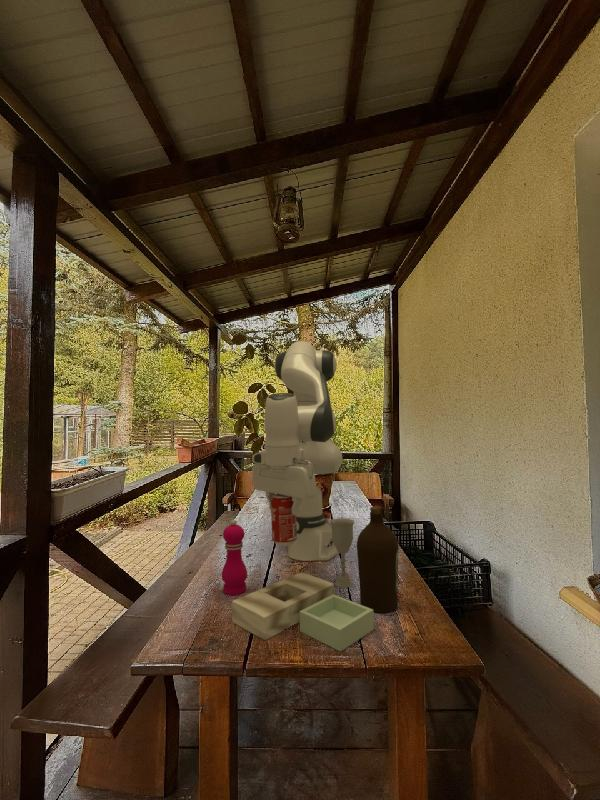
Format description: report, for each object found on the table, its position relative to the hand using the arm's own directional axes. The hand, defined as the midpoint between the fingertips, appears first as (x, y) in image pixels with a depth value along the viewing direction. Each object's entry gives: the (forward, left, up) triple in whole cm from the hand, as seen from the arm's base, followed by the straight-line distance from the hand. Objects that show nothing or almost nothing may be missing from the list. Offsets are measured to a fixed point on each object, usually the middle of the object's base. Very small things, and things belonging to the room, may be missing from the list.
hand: (283, 511), depth 106 cm
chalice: (-23, 0, -25) cm, 34 cm away
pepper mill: (+1, -20, -25) cm, 32 cm away
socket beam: (0, 0, -25) cm, 25 cm away
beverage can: (0, 0, -8) cm, 8 cm away
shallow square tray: (-2, +15, -25) cm, 29 cm away
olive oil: (-19, +15, -25) cm, 35 cm away
